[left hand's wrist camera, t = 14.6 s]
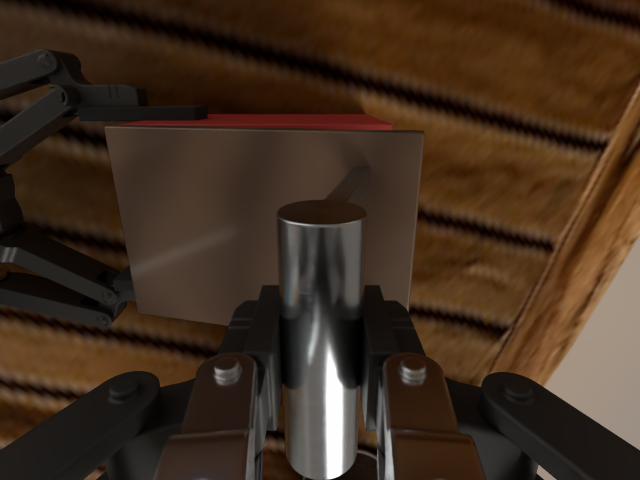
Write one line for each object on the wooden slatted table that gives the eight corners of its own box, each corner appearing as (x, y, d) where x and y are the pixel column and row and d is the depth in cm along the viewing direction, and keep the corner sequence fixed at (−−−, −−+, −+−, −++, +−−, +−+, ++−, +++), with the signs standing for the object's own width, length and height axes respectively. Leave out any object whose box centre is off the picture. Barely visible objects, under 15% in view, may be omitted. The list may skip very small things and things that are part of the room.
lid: (424, 130, 16) (427, 172, 8) (405, 338, 20) (393, 530, 11) (119, 124, 19) (-125, 149, 11) (150, 303, 23) (-16, 431, 14)
